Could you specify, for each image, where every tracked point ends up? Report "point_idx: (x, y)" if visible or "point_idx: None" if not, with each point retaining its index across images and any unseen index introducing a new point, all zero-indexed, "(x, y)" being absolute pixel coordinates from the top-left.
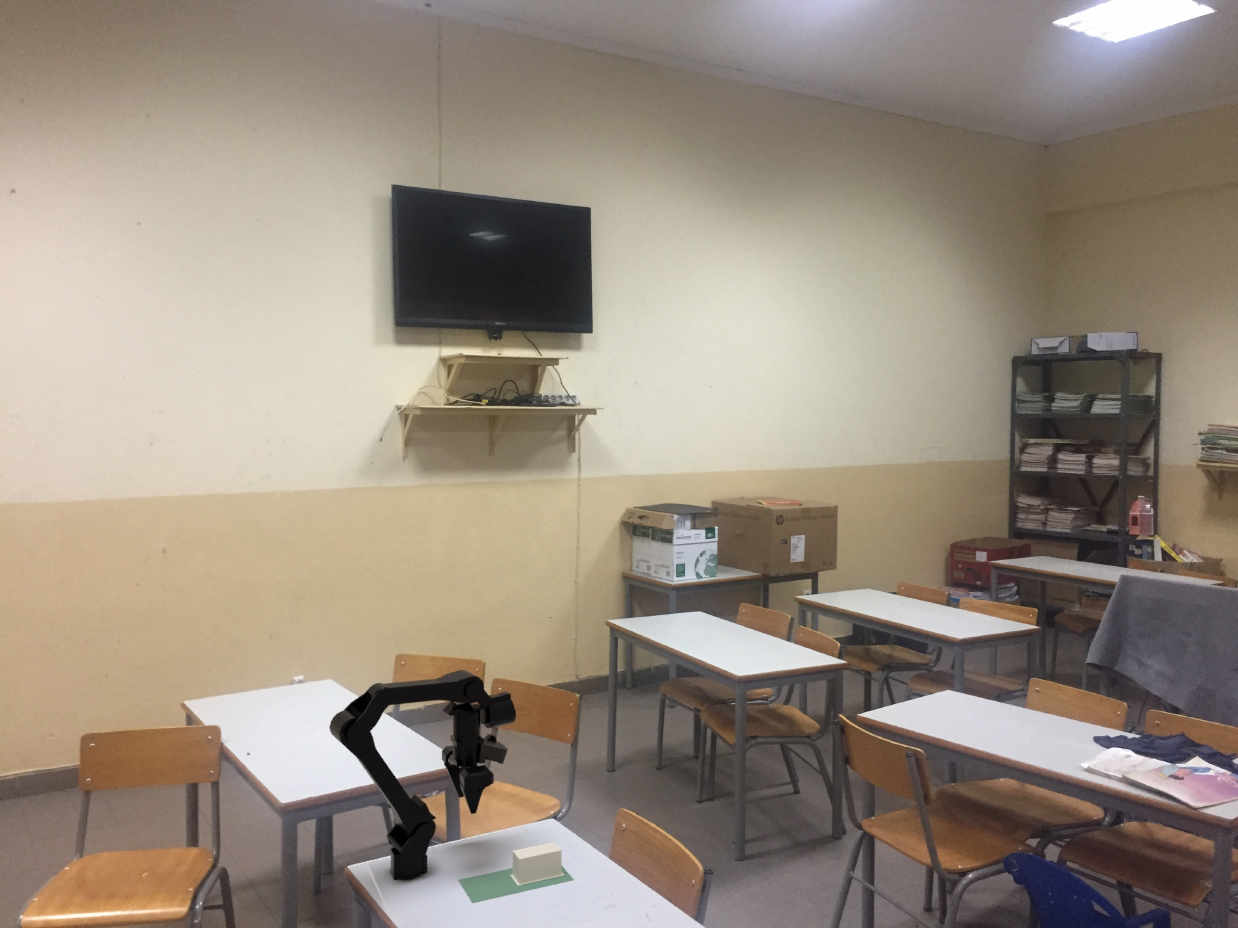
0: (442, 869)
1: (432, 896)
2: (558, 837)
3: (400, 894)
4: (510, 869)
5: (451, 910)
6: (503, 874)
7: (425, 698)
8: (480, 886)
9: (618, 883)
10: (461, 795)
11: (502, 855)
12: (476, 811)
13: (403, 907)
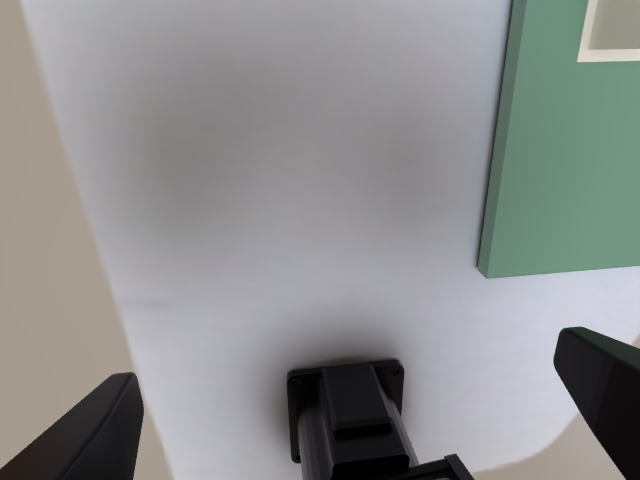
0: (326, 299)
1: (497, 352)
2: None
3: (432, 430)
4: (529, 40)
5: (610, 313)
6: (552, 90)
7: None
8: (583, 211)
9: None
10: (135, 402)
11: (304, 10)
12: (594, 331)
13: (509, 427)
